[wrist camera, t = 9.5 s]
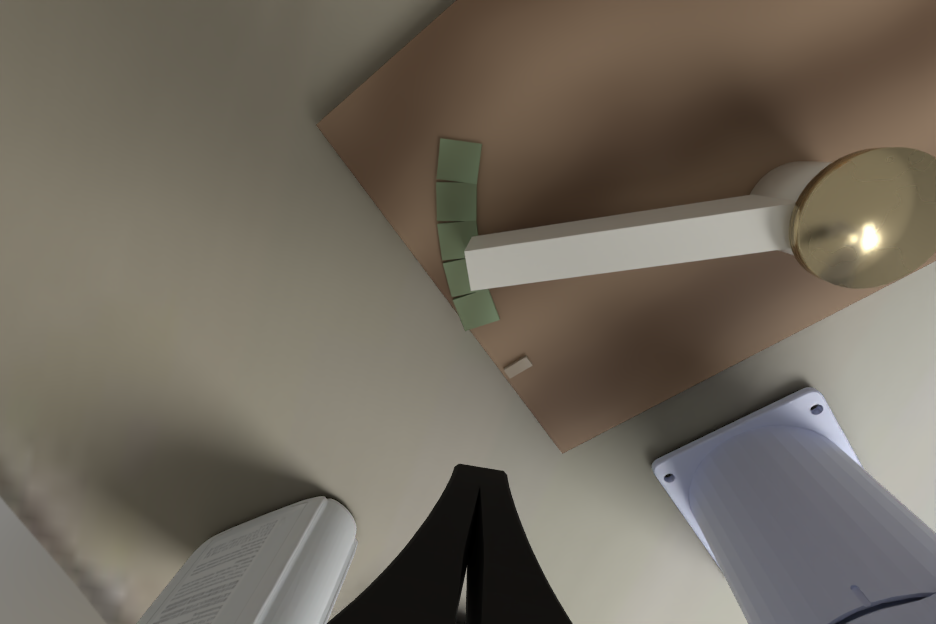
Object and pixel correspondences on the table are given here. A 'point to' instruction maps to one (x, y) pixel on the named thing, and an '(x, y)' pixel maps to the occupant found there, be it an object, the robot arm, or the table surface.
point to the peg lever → (747, 227)
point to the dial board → (628, 170)
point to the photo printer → (264, 570)
